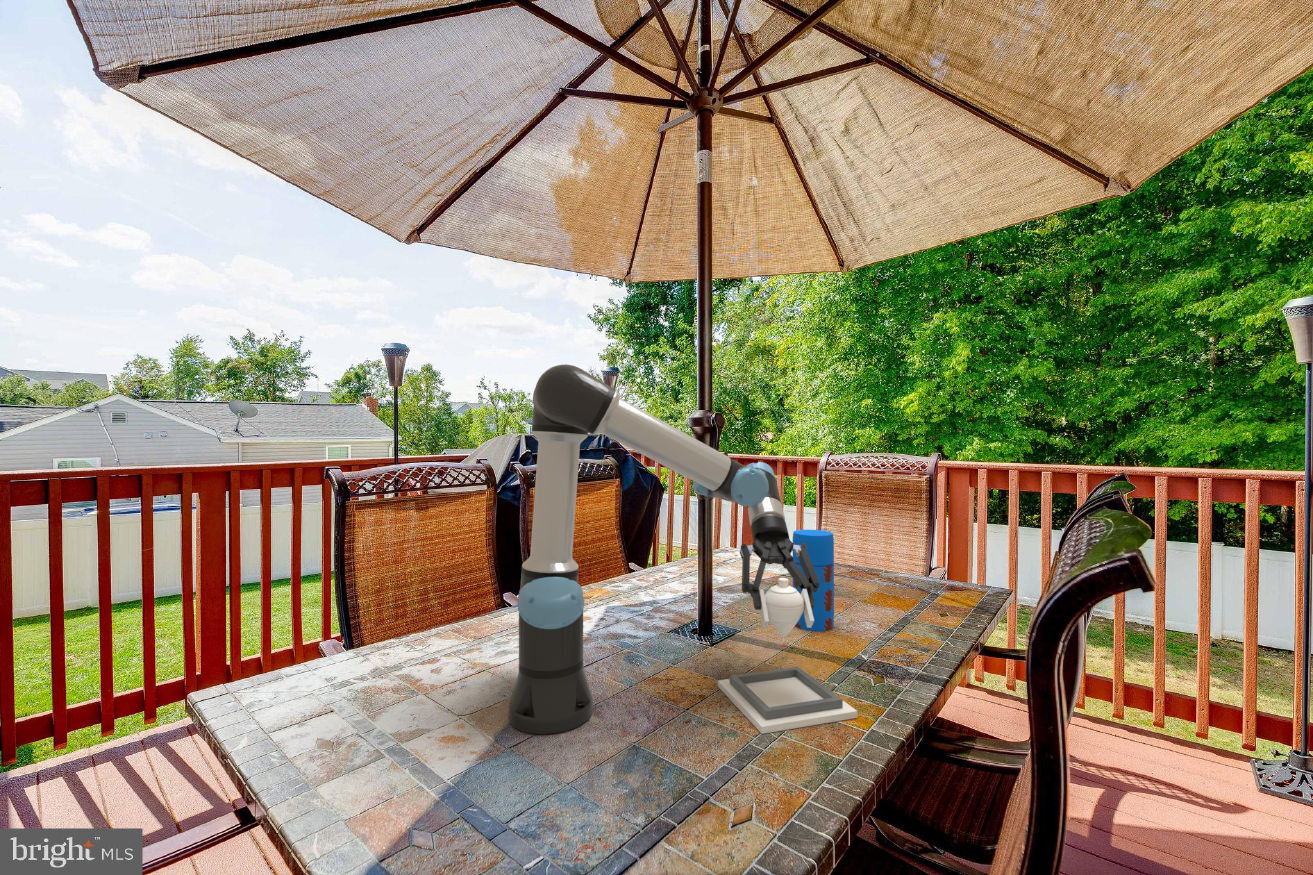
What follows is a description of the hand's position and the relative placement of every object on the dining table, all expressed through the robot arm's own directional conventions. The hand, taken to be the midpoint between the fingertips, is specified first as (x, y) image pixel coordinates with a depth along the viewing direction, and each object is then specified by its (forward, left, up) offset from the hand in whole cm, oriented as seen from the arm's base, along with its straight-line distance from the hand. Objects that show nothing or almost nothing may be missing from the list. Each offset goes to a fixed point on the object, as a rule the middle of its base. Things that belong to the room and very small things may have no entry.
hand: (788, 624), depth 102 cm
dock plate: (+1, +3, -16) cm, 16 cm away
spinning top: (+1, +3, -5) cm, 6 cm away
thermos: (+31, +40, -16) cm, 53 cm away
